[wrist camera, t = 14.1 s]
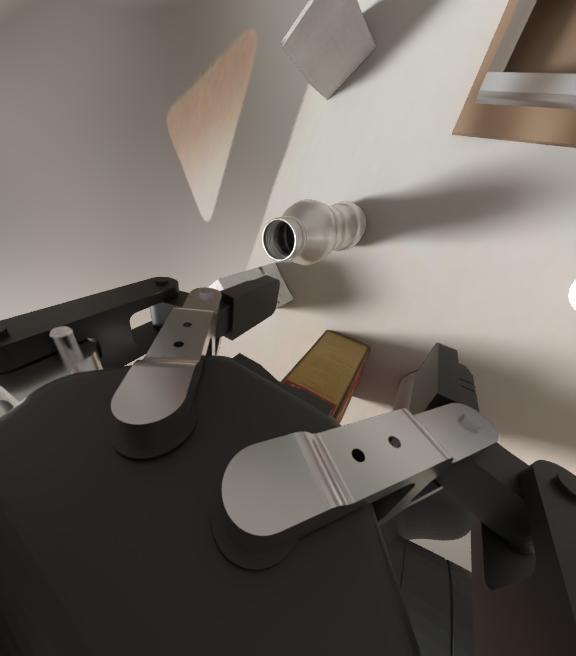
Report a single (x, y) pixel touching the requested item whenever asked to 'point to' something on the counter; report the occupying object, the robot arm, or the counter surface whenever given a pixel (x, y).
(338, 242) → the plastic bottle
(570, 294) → the champagne flute
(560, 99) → the socket board
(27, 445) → the robot arm
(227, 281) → the skincare box
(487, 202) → the counter surface
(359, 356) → the food packaging
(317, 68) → the small milk carton
